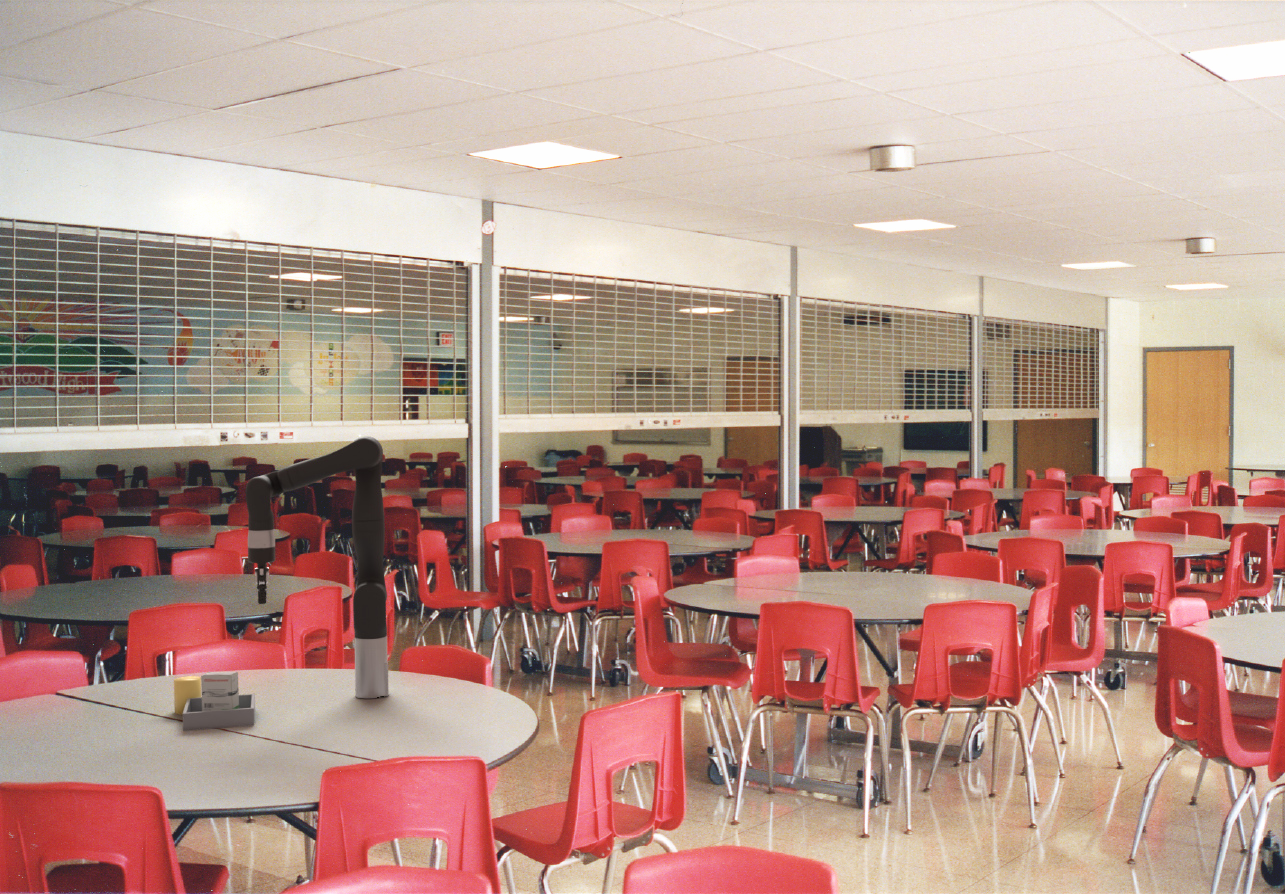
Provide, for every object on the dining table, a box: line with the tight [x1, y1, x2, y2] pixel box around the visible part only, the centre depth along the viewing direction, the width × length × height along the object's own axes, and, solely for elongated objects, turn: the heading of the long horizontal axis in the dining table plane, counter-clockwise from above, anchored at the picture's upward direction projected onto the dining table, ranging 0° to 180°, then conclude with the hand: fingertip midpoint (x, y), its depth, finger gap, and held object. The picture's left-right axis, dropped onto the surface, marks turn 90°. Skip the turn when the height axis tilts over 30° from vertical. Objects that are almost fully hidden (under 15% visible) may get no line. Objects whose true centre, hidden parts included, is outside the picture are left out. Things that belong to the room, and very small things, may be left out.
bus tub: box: [182, 693, 256, 732], centre depth 327 cm, size 18×18×4 cm
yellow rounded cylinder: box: [173, 675, 202, 715], centre depth 337 cm, size 7×7×9 cm
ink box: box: [200, 671, 240, 711], centre depth 327 cm, size 9×5×12 cm, turn 86°
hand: (262, 601), depth 350 cm, fingers open, 8 cm apart
